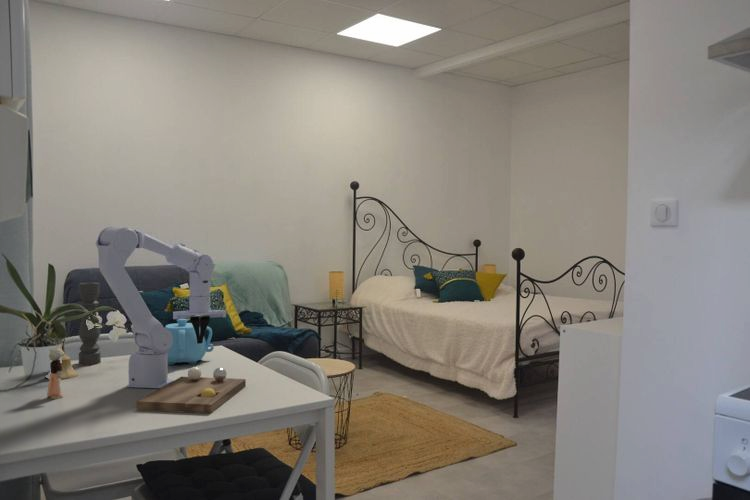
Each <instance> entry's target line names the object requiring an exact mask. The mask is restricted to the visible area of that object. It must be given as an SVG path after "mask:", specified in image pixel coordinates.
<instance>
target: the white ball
mask: <svg viewBox="0 0 750 500" xmlns="http://www.w3.org/2000/svg"><path fill="white" fill-rule="evenodd" d="M201 376H202V370H201V368H199V367H197V366H192V367H190V368H189V369H188V372H187V377H189V378H190V379H191V380H197V379H199V378H200V377H201Z"/></svg>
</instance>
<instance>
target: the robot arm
mask: <svg viewBox="0 0 750 500" xmlns="http://www.w3.org/2000/svg"><path fill="white" fill-rule="evenodd" d="M95 246H96V247H97V254H98V269H99V271H100V273H101V275H102V276H103V277H104V278H103V279H105V281H106V282H107V284H108V286H109V288H110V290H111V292H113V295H114V296H115V297H116V300H118V302H119V304H120V306H121V308H122V310H123V311H124V312H125V314H126V315H127V317H128V319H129V321H130V322H131V324H132V326H131V332H132V333H133V338H134V343H135V345H136V346H137V347H138V351H133V352H132V353H131V354H130V356H129V360H128V384H127V385H126V387H127V388H145V389H160V388H162V387H164V386H165V385H167V384H169V383H171V382H173V381H174V380H175V379H168V376H169V375H168V374H169V372H168V366H169V365H168V349H169V348H170V347H171V345H172V342H173V337H172V334H171V332H170V331H168V330H167V329H165V327H164V325H163V324H162V322H160V321H159V320H158V319H156V317H155V316H153V314H152V313H151V311H150V309H149V307H148V306H147V304H146V303H145V300H144V299H143V297H142V295H141V294H140V292H139V291H138V288H137V287H136V285H135V283H134V282H133V280H132V279H131V277H130V275H129V273H128V272H127V270H126V268H125V266H126V264H127V260H128V259H129V258H130V257H131V256H132V253H134V252H135V250H136V249H143V250H147V251H150V252H151V253H152V252H153V253H155V254H157V255H161V256H163V257H165V259H166V261H167V263H168V264H170V265H171V264H172V265H173V266H176V267H179V268H181V269H184V270H186V272H187V273H189V310H180V311H173V312H172V313H173V314H172V319H173V320H178V319H189V320H190V323H192V325H193V327H194V330H195V333H196V337H197V344H200V343H203V337H204V338H205V333H206V331H207V329H206V328H207V326H208V327H209V324H210V320H211V319H210V318H226V317H227V310H226V309H211V279H212V273H213V271H214V270H215V266H216V264H215V263H214V262H213V259H212V257H211V256H209V255H208V254H202V253H201V254H200V253H199V251H198V250H197V249H193V250H192V249H191V248H189V247H186V244H185V243H182V242H179V243H173V244H171V245H170V244H168V243H166V242H164V241H162V240H159V239H157V238H155V237H153V236H152V235H150V234H148V233H145V232H143V231H140V230H137V229H133V228H131V227H127V226H125V227H113V226H109V227H108V226H107V227H105V228H103V229H102V230H101V231H100V233H99V235H98V237H97V239H96V242H95ZM199 331H200V332H199Z"/></svg>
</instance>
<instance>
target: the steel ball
mask: <svg viewBox="0 0 750 500" xmlns="http://www.w3.org/2000/svg"><path fill="white" fill-rule="evenodd" d="M227 377H228V373H227V370H226V369H225V368H224V367H218V368H216V369H215V370H214V371H213V373H212V378H214V379H215V380H217V381H223V380H224V379H225V378H227Z"/></svg>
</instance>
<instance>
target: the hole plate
mask: <svg viewBox="0 0 750 500" xmlns="http://www.w3.org/2000/svg"><path fill="white" fill-rule="evenodd" d="M173 380H174V381H173V382H171V383H169V384H167V385H165V386H164V387H162V388H157V390H155V391H153V392H151V393H149V394H148V395H145V396H144V397H142V398H140V399H138V400H137V401H136V410H137V409H138V410H137V411H151V410H161V411H160V412H173V411H183V412H182V413H195V412H202V413H201V414H213V413H214V412H215V411H216V410H217V409H219V408H220V407H221V406H223V405H224V404H225V403H226V402H228V401H229V400H230V399H231V398H233V397H234V396H235V395H236V394H238V393H240V391H242V390H243V389H245V387H246V383H247V382H246V378H230V377H229V378H227V377H226V378H225V379H224V380H223V381H217V380H215V379H214V377H200V378H199V379H197V380H191V379H190V378H189V377H188V376H180V377H178V378H176V379H173ZM206 388H211V389H213V390H214V391H215V394H216V396H215V397H201V393H202V391H203V390H204V389H206ZM222 404H223V405H222ZM218 407H219V408H218ZM214 410H215V411H214ZM213 411H214V412H213Z"/></svg>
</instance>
